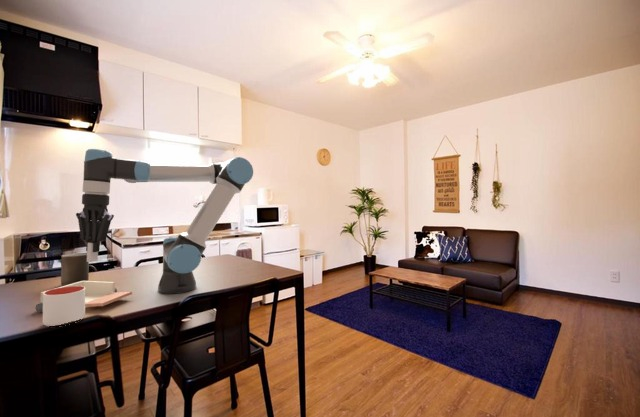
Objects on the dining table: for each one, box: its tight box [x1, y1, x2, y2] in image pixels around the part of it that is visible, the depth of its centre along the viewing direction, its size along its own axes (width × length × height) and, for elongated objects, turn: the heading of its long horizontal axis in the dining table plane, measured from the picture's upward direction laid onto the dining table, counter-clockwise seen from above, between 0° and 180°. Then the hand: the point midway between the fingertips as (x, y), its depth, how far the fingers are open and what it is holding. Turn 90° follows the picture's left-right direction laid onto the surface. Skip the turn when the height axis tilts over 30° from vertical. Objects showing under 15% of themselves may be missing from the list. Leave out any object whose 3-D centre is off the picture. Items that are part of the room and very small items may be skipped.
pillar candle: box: [60, 251, 90, 287], centre depth 131 cm, size 10×10×15 cm
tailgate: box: [85, 291, 133, 308], centre depth 106 cm, size 1×13×8 cm
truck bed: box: [35, 280, 118, 313], centre depth 107 cm, size 14×21×6 cm, turn 175°
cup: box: [42, 286, 86, 327], centre depth 90 cm, size 10×10×10 cm
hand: (92, 261), depth 99 cm, fingers closed
